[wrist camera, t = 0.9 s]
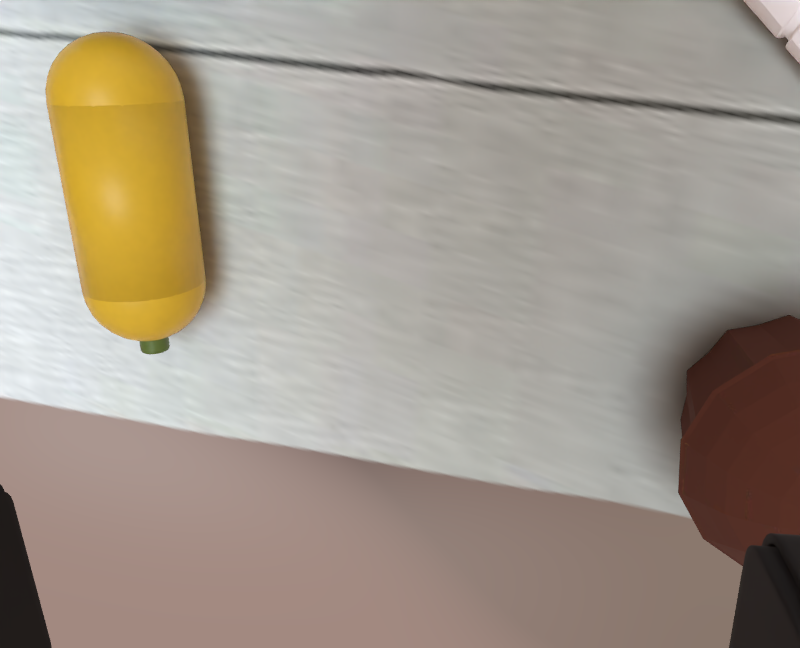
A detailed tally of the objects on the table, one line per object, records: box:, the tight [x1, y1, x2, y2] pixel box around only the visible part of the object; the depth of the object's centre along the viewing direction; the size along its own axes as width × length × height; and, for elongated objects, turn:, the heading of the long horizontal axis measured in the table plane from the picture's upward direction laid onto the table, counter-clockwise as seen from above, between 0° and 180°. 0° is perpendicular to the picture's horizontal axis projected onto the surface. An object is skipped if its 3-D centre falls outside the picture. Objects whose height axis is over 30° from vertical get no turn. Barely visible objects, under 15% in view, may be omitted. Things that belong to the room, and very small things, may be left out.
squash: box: [46, 32, 206, 354], centre depth 33 cm, size 15×6×6 cm, turn 1°
